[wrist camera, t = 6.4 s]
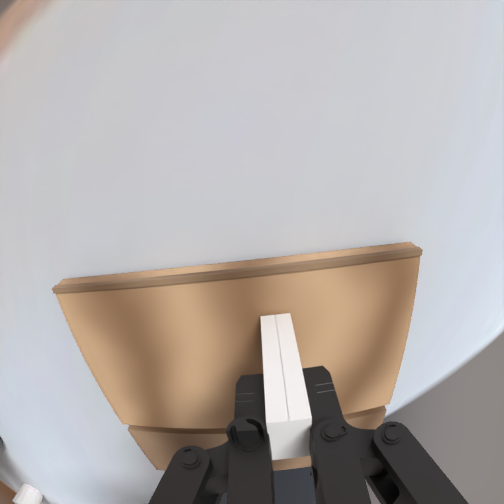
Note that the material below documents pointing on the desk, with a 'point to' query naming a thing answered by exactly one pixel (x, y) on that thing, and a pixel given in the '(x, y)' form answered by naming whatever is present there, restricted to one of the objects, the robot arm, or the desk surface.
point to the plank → (242, 329)
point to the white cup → (27, 495)
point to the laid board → (225, 439)
